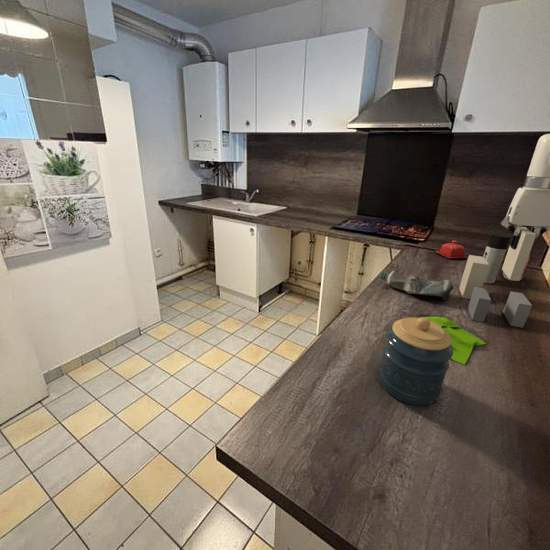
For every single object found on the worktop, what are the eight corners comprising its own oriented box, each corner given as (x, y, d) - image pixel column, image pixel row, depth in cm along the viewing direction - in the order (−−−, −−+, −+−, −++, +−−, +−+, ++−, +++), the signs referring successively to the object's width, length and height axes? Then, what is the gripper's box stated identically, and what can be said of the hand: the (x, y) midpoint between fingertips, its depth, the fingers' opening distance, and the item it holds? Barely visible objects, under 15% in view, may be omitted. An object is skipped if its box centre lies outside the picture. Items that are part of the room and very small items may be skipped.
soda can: (524, 279, 125) (534, 253, 120) (518, 283, 121) (528, 256, 116) (505, 274, 130) (514, 248, 125) (498, 277, 126) (507, 251, 122)
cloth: (445, 315, 95) (447, 309, 95) (507, 358, 76) (510, 351, 75) (389, 321, 91) (391, 315, 90) (440, 368, 72) (442, 361, 71)
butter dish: (433, 252, 156) (437, 237, 153) (453, 252, 158) (457, 237, 154) (447, 260, 146) (452, 244, 142) (468, 259, 147) (473, 243, 144)
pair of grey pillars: (513, 316, 96) (522, 293, 93) (522, 330, 88) (532, 305, 85) (467, 307, 101) (474, 285, 98) (471, 320, 93) (479, 296, 90)
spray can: (483, 276, 127) (498, 232, 119) (498, 283, 121) (515, 236, 113) (472, 278, 125) (486, 233, 117) (487, 285, 119) (503, 237, 111)
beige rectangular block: (473, 290, 114) (483, 256, 108) (477, 300, 106) (489, 264, 101) (459, 288, 115) (468, 254, 110) (462, 297, 108) (473, 262, 102)
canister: (453, 400, 63) (477, 330, 56) (403, 413, 59) (421, 341, 52) (411, 361, 74) (426, 300, 67) (367, 370, 71) (378, 307, 64)
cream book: (510, 270, 92) (525, 227, 87) (519, 281, 85) (536, 234, 79) (501, 269, 93) (515, 226, 88) (509, 279, 86) (525, 233, 80)
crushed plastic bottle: (451, 293, 111) (384, 276, 123) (456, 276, 107) (387, 261, 120) (447, 309, 101) (375, 289, 114) (452, 292, 98) (378, 273, 110)
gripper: (573, 183, 79) (548, 248, 86) (502, 181, 85) (484, 242, 92) (587, 186, 73) (559, 256, 80) (509, 183, 78) (489, 248, 86)
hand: (519, 248), depth 86 cm, fingers closed on cream book, 2 cm apart
